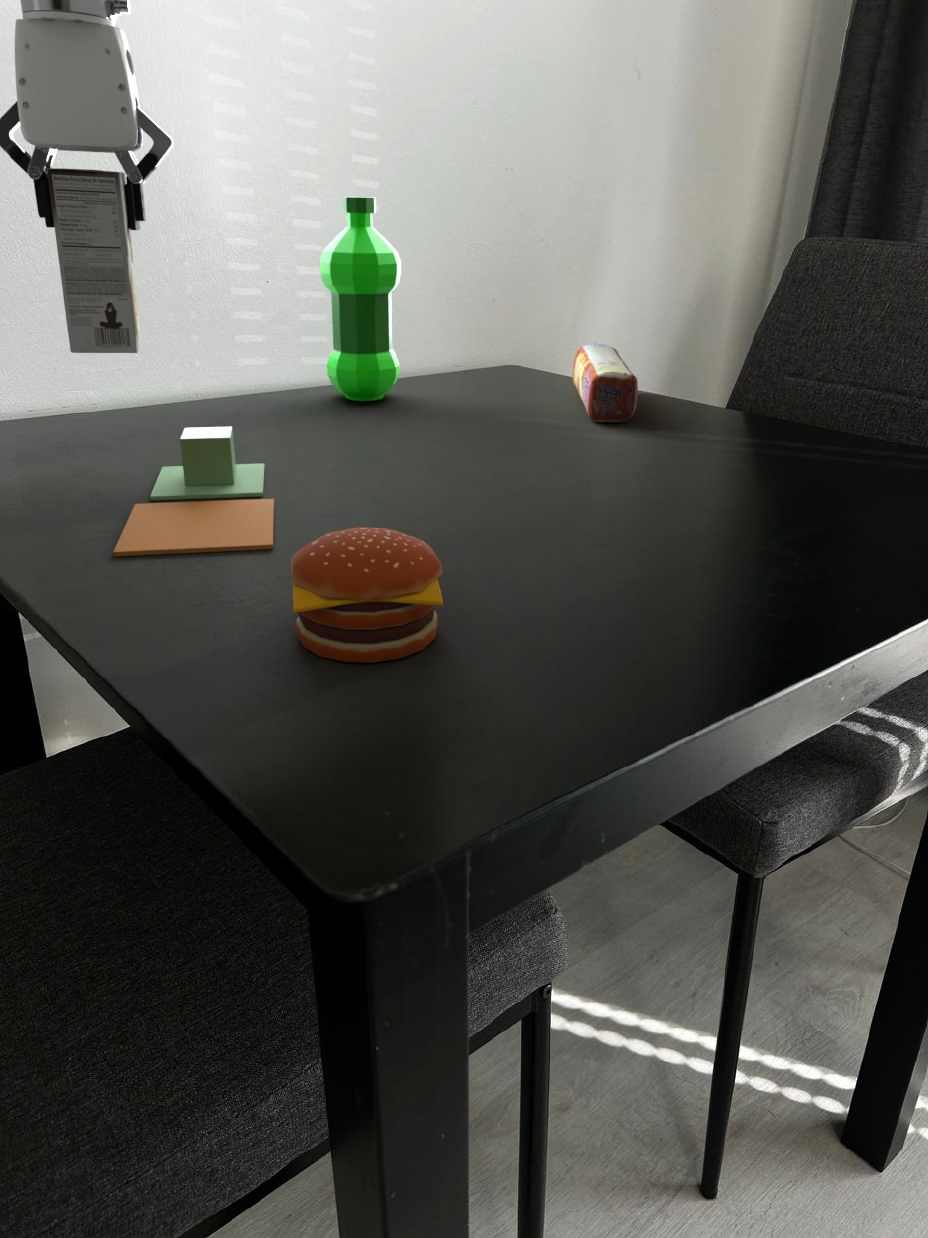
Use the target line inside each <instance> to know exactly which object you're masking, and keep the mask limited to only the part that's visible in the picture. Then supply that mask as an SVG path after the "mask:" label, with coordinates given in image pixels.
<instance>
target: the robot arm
mask: <svg viewBox="0 0 928 1238" xmlns="http://www.w3.org/2000/svg"><path fill="white" fill-rule="evenodd" d="M20 7H21V13H22V14H21V15H22V18H18V19H16V20H15V26H14V71H15V72H14V73H15V88H16V89H15V91H16V101H15V102H14V103H13V104H12V105H11V106H10V108H8V110H7V111H6V112H4V113H3V115H1V117H0V148H1V150H3V152H5V153H6V154H7V155H8V156H9V158H10V159H11V160H12V161H13V162H14V163H15V164H16V165H17V166H18V167H20V168H21V169H22V170H23V171H24V172H25V173H26V174H27V175H28V177H29V178H30V179H32V181H33V187H34V193H35V200H36V208H37V213H38V217H39V218H41V219H44V223H45V227H46V228H55V227H54V219H53V212H52V204H51V196H50V188H49V181H48V173H47V168H52V166H53V162H54V159H55V157H56V154H57V151H66V152H87V153H105V154H109V153H110V154H115V156H116V159H117V160H118V162H119V164H120V166H121V167H122V169H123V172H124V173H125V175H126V176H125V178H126V185H124V190H125V200H126V209H127V220H128V228H129V229H130V231H140V230H141V222H146V220H147V219H146V217H147V216H146V208H145V207H146V206H145V196H144V186H143V184H145V182H146V181H147V179H148V178H149V177H150V176H151V175H152V174H153V173H154V171H156V169H157V168H158V167H159V165H160V164H161V162H162V161H163V160H164V159H165V157H166V156H167V155H168V154H169V152H170V151H171V150H172V148H174V145H175V143H174V139H172V137H171V136H170V135H168V134H167V132H166V131H164V129H162V128H161V127H160V126H159V125H158V124H157V123H156V122H155V121H153V119H151V118H150V116H148V114H146V112H144V111H143V110H142V109H141V108H140V102H139V94H138V87H137V82H136V76H135V70H134V65H133V59H132V56H131V51H130V50H131V49H130V47H129V42H128V39H127V36H126V33H125V30H123V29H121V28H120V27H118V26H116V25H115V24H116V23H117V21H116V19H118V16H122V14H123V15H124V14H126V15H130V14H131V5H130V0H20ZM19 127H20V130H21V134H22V137H23V139H24V141H26V142H27V143H28V144H30V145H33V146H34V149H33V152H32V155H31V154H30V153H28V152H27V150H25V149H24V147H22V146H21V145H20V144H19V143H18V141H16V139H15V138H14V133H15V131H16V130H18V128H19ZM143 132H144V133H145V134H146V135H147V136H148V137H149V138H151V140H152V143H153V144H152V146H151V148H150V149H149V150H148V152H147V153H145V155H144V156H143V157H142V158H141V160H139V162H138V159H137V158H136V156H135V154H134V153H135V152H137V151H139V150H140V149H142V147H143V144H144V143H143V142H144V141H143V140H144V135H143Z"/></svg>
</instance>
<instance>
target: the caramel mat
mask: <svg viewBox="0 0 928 1238" xmlns="http://www.w3.org/2000/svg"><path fill="white" fill-rule="evenodd" d="M274 516H275V499H274V498H258V499H257V498H256V499H254V498H253V499H230V500H229V499H228V500H225V499H224V500H202V501H201V500H200V501H199V500H198V501H180V502H179V501H177V502H176V501H175V502H148V503H134V505H133V508H132V509H131V512H130V513H129V516H128V519H127V520H126V523H125V525H124V528H123V530H122V532H121V534H120V536H119V539H118V541H117V543H116V544H115V547H114V549H113V551H112V554H113V555H112V556H113V557H133V556H135V557H136V556H155V555H156V556H157V555H175V554H177V555H178V554H197V553H198V554H199V553H200V554H201V553H218V552H219V553H220V552H221V553H222V552H237V551H238V552H239V551H263V550H273V549H274V527H275V526H274V524H275V523H274V522H275V519H274V518H275V517H274Z"/></svg>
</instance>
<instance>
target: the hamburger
mask: <svg viewBox="0 0 928 1238" xmlns="http://www.w3.org/2000/svg"><path fill="white" fill-rule="evenodd" d="M290 570H291V571H290V572H291V579H292V584H293V585H292V586H293V587H292V588H293V590H292V604H293V605H292V606H293V607H292V608H293V609H292V613H293V614H297V618H296V621H295V623H294V627H295V633H296V635H297V636H298V639H299V641H300V643H301V645H302V647H303V648H305V649H307V650H308V651H310V652H312V653H313V654H315V655H316V656H318V657H321V658H326V659H330V660H335V661H339V662H344V663H364V664H365V663H367V664H370V663H371V664H374V663H379V662H387V661H392V660H398V659H403V658H405V657H409V656H410V655H414V654H416V653H418V652H421V651H423V650H424V649H425V648H426V647H427V646H428V645H430V643H432V642H433V641H434V640H435V639H436V636H437V632H438V624H439V615H438V614H437V612H436V610H435V608H436V606H438V607H442V606H443V607H444V602H443V597H442V590H441V587H440V584H439V580H438V578H439V577H440V576H441V575H443V567H442V563H441V562H440V559H438V556H437V555H436V554H435V552H434V551H433V548H432V547H431V546H430V545H429V544H428V543H427V542H425V541H424V540H422V539H420V538H418V537H415V536H412V535H409V534H407V533H403V532H400V531H397V530H394V529H392V528H385V527H383V528H382V527H364V526H363V527H362V526H360V527H352V528H346V529H341V530H335V531H330V532H328V533H326V534H324V535H322V536H320V537H319V538H316V539H315V540H313V541H311V542H310V543H308V544H305V545H304V546H303V547H301V548H299V550H297V551H296V552H295V553H294V555H293V556H292V558H291V563H290Z"/></svg>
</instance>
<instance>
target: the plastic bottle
mask: <svg viewBox="0 0 928 1238" xmlns="http://www.w3.org/2000/svg"><path fill="white" fill-rule="evenodd" d="M341 210H342V211H341V212H342V213H343V214H344V213H345V214H346V227H345V228H344V229H343V230H342V231H340V232H339V233H338V234H337V235H336V236H335V237H334V238H333V239H332V240H331V241H330V242H329V243H328V245H327V246H326V247H325V248H324V249H323V250H322V253H321V256H320V259H319V273H320V277H321V281H322V284H323V285H324V286H325V287H326V289H327V290H328V291H329V292H330V296H331V318H332V320H331V321H332V323H331V324H332V344H333V345H332V346H333V349H332V351H331V353H330V355H329V358H328V361H327V364H326V372H327V376H328V377H327V378H328V379H329V381H330V383H331V384H332V385H333V387H334V388H335V389H336V390H337V391H338V392H339V393H340V394H341V395H344V398H345V399H347V400H349V401H355V402H356V401H357V402H372V401H373V402H374V401H377V400H378V401H379V400H382V399H383V398H384V396H385V395H386V394H387V393H388V392H389V391H390V390H391V389H392V388H393V386H394V385H395V384H396V383H397V381H398V378H399V375H400V372H401V371H400V370H401V369H400V362H399V359H398V356H397V354H396V352H395V350H394V348H393V304H392V303H393V302H392V301H393V297H392V296H393V295H392V292H393V291H394V290H395V289H396V288H397V286H398V285H399V284H400V281H401V274H402V261H401V258H400V254H399V253H398V250H397V249H396V248H395V247H394V246H393V245H392V244H391V243H390V242H389V241H388V240H387V239H386V238H385V237H384V236H383V235H382V234H381V233H380V232H379V231H378V230H377V229H376V228H375V227H374V226H373V214H377V197H375V196H373V197H371V196H366V197H365V196H342V197H341Z"/></svg>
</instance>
